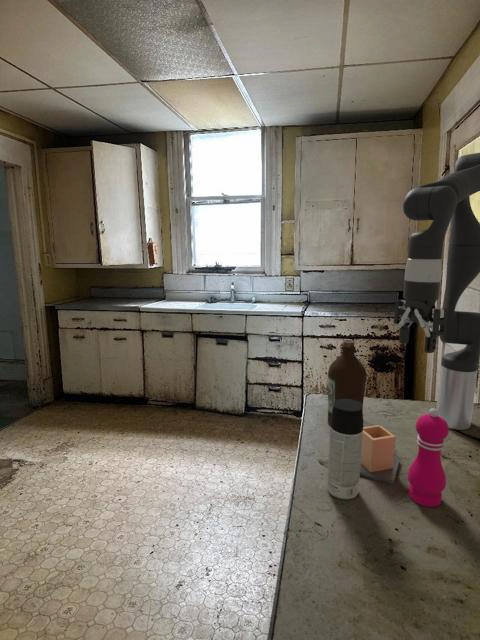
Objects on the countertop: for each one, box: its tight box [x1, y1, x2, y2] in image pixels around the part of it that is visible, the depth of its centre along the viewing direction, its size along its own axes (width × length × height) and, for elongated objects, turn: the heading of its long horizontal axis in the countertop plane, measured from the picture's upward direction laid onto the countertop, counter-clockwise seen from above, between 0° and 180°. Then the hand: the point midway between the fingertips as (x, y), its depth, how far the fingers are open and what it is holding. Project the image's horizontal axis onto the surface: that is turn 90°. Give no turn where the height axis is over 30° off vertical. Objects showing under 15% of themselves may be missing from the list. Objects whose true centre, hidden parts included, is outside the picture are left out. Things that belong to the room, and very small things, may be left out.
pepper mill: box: [407, 407, 450, 508], centre depth 81 cm, size 7×7×20 cm
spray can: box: [326, 399, 365, 500], centre depth 83 cm, size 7×7×20 cm
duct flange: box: [360, 437, 400, 485], centre depth 94 cm, size 10×10×7 cm
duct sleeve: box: [361, 424, 397, 472], centre depth 93 cm, size 6×6×8 cm
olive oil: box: [327, 339, 367, 426], centre depth 114 cm, size 11×11×25 cm
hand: (415, 347), depth 93 cm, fingers open, 8 cm apart
